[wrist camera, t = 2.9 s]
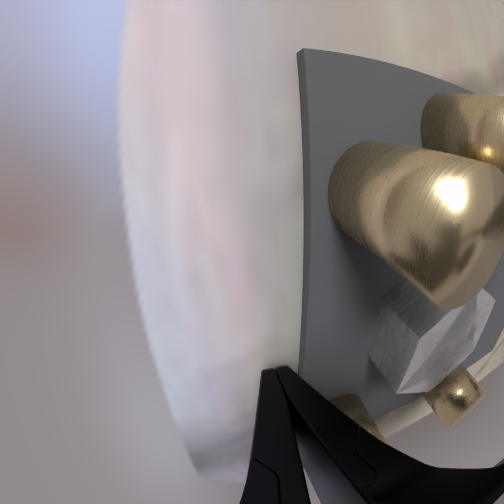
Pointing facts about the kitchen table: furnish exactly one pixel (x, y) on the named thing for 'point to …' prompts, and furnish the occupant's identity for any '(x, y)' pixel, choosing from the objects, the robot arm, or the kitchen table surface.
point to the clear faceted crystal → (424, 337)
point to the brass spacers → (430, 220)
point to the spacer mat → (341, 244)
